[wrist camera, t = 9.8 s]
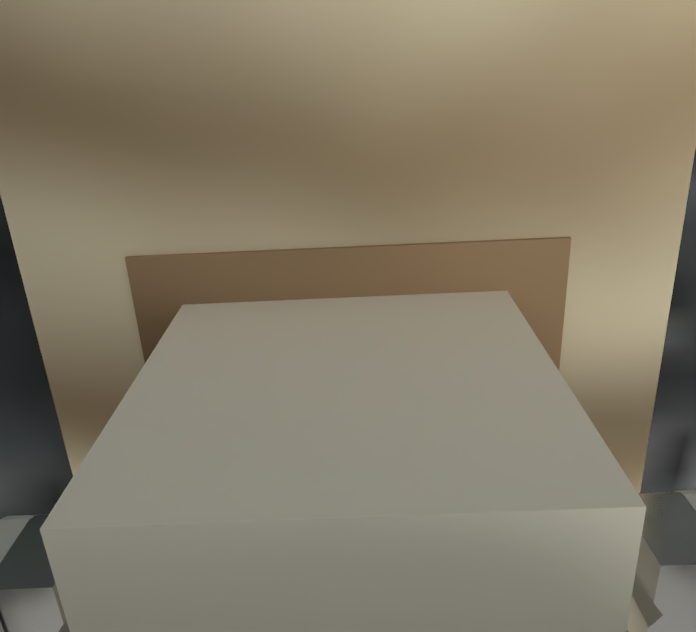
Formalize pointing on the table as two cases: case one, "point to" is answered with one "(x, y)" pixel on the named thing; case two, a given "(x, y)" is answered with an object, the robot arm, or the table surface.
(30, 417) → the table surface
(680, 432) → the table surface
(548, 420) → the cream block
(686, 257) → the table surface
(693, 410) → the table surface
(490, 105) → the base board
